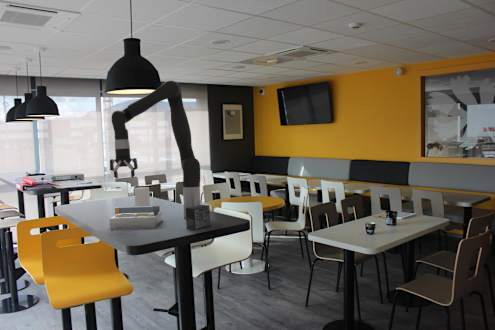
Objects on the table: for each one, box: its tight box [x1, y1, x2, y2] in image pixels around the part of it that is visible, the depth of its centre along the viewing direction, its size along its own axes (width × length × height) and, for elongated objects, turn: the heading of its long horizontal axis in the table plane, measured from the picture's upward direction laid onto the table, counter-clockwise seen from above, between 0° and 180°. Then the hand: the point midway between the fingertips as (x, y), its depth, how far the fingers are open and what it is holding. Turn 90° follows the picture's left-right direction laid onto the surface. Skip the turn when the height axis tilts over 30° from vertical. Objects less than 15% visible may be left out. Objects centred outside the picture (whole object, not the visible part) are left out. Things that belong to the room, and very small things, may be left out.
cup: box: [133, 186, 151, 207], centre depth 229 cm, size 8×8×16 cm
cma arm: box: [114, 205, 161, 215], centre depth 204 cm, size 22×4×3 cm, turn 91°
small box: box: [185, 204, 211, 231], centre depth 192 cm, size 11×6×10 cm, turn 141°
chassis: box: [109, 210, 163, 230], centre depth 204 cm, size 22×18×6 cm
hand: (124, 177), depth 215 cm, fingers open, 8 cm apart
